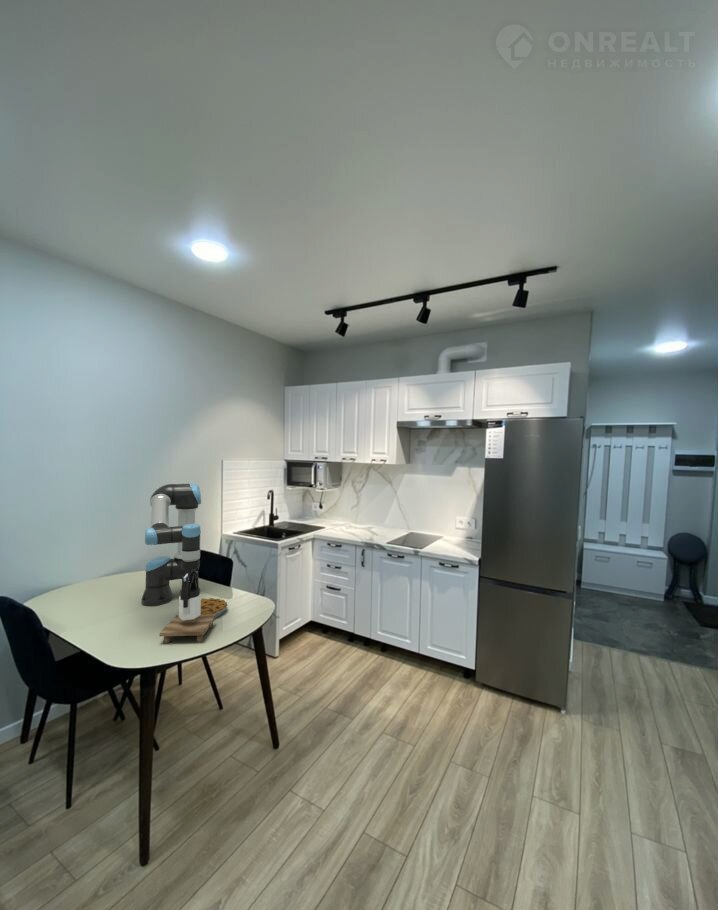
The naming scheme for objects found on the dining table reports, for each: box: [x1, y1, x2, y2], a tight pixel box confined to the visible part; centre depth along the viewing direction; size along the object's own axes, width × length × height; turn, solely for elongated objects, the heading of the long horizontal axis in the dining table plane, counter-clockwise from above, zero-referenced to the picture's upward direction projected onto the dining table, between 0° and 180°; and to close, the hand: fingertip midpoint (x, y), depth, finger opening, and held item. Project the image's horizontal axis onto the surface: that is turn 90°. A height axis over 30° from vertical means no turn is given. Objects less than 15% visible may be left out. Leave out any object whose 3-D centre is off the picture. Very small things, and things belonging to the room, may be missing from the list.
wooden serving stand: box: [158, 614, 216, 644], centre depth 165 cm, size 18×18×5 cm
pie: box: [201, 597, 228, 619], centre depth 187 cm, size 22×22×5 cm
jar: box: [178, 586, 202, 620], centre depth 165 cm, size 9×8×12 cm
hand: (189, 610), depth 165 cm, fingers closed on jar, 8 cm apart
